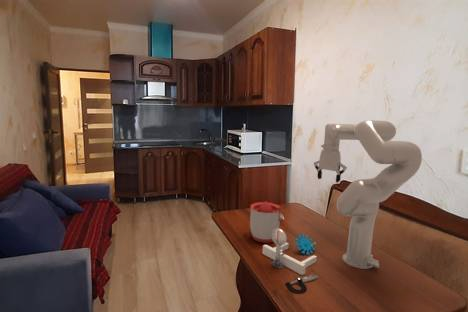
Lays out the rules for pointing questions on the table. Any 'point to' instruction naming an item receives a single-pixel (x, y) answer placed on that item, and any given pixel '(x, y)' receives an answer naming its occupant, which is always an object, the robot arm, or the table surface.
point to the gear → (305, 244)
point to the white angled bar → (289, 259)
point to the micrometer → (301, 283)
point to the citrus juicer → (264, 220)
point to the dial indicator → (278, 246)
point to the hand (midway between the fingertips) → (328, 180)
